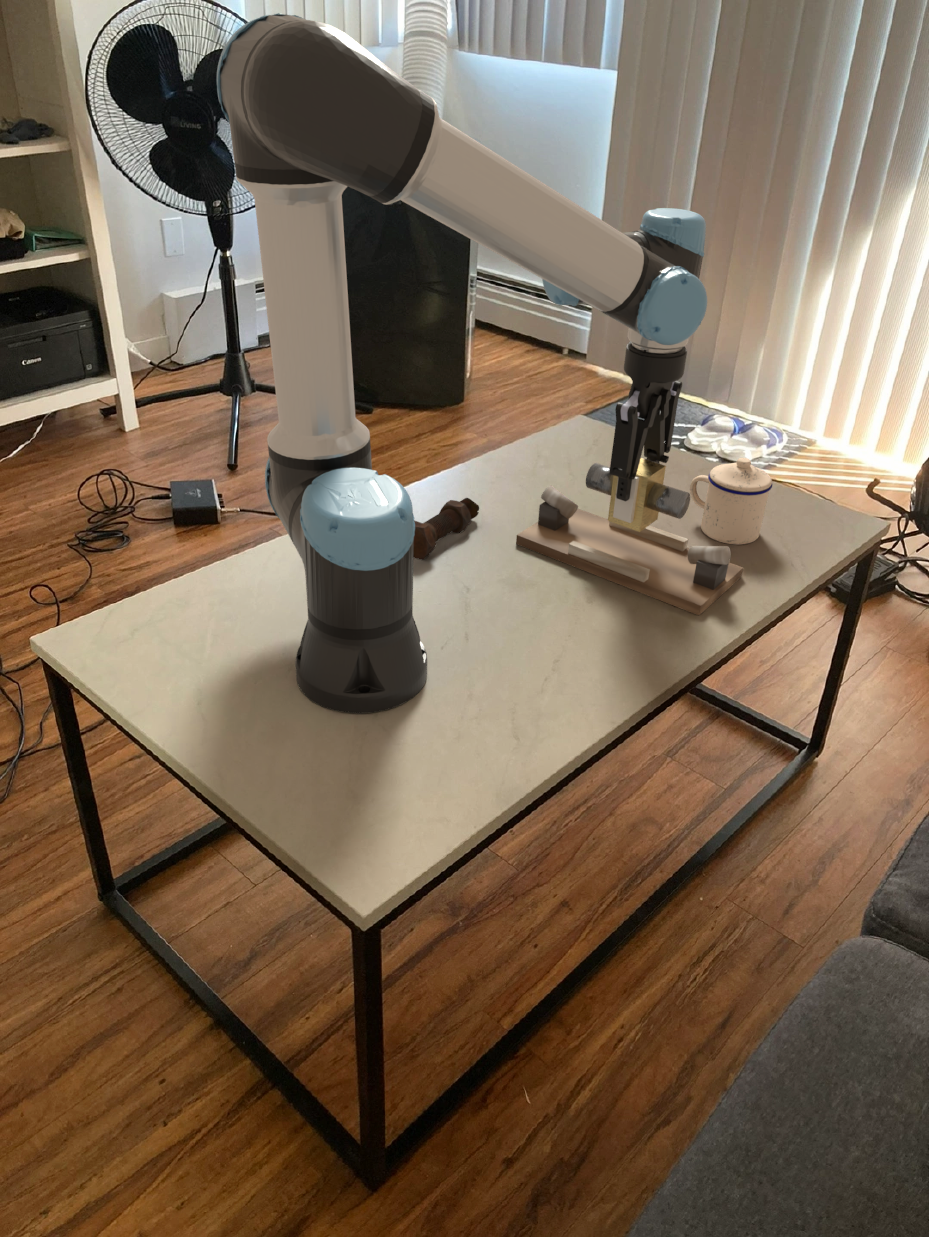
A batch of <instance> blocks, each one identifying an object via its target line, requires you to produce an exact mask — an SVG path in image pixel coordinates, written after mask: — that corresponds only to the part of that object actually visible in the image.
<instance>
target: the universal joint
mask: <svg viewBox="0 0 929 1237" xmlns="http://www.w3.org/2000/svg"><path fill="white" fill-rule="evenodd" d="M642 458H643V457H641V458H640V462H639V466H638V470H637V474H636V476H638V477H639V483H638V490H637V497H636V504H635V511H634V518H633V522H631V523H628V522H626V521H623V520H620V519H617V518H614V517H613V512H614V505H615V497H616V490H617V482H618V477H617V476H614V475H611V474H610V473H609V472H610V466H608V465H604V464H601V463H598V462H595V463H592V464H591V466H590V467H589V469H588V470H587V473H586V476H585V486H586V488H587V489H590V490H592V491H593V490H594V491H596V492H599V493H602V494H605V495H608V496H610V499H609V501H610V502H609V507H608V514H607V515H608V516H607V519H608V521H610V522H613V523H616V524H618V525H621V526H624V527H627V528H630V529H632V530H635V531H638V532H641V531H642V530H643V529H645V528H646V527H648V526H651V525H652V524H654V522H656V521H658V518H659V513H660V514H664V515H667V516H669V517H672V518H675V519H678V520H680V519H682V518H683V517H684V516H685V514H686V513H687V511H688V509H689V506H690V502H691V494H690V492H687V491H684V490H681V489H678V488H674V487H672V486H669V485H666V484H664V480H665V473H666V468H667V466H666V465H664V464H662V463H660V464H658V463H655V462H652V461H649V460H646V459H647V458H644V459H642Z"/></svg>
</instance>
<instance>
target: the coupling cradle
mask: <svg viewBox="0 0 929 1237" xmlns="http://www.w3.org/2000/svg"><path fill="white" fill-rule="evenodd" d="M540 499H541V500H543V501H544V502H542V503H540V504H539V508H538V509H539V510H538V518H537V520H538V521H537V522H535V523H533V524H531V526H529V527H527V528H525V529H524V530H522V531H521V532H519V533H517V534H516V540H515V541H516V542H515V544H516V545H517V546H519V547H522V548H525V549H528V550H530V551H533V552H536V553H538V554H541V555H542V556H546V557H549V558H551V559H552V560H553V559H554V560H556V561H559V562H562V563H564V564H566V565H569V566H571V567H574V568H576V569H579V570H581V571H584V572H586V573H589V574H590V575H591V574H592V575H595V576H597V577H600V578H601V579H605V580H607V581H610V582H612V583H614V584H617V585H620V586H621V587H624V588H627V589H630V590H632V591H635V592H637V593H640V594H642V595H645V596H648V597H651V598H653V599H656V600H658V601H661V602H663V603H666V604H668V605H671V606H674V607H676V608H679V609H681V610H683V611H686V612H689V613H691V614H693V615H697V616H701V615H702V613H704V612H706V610H708V608H709V607H710V606H712V604H714V603H715V602H716V601H717V600H718V599H719V598H720V597H721V596H722V595H723V594H725V593H726V591H728V590H729V589H730V588H731V587H732V586H733V585H734V584H735V583H736V582H738V581H739V580H740V579H741V578H742V575H743V571H744V567H743V566H739V565H737V564H734V563H732V562H730V560H731V557H732V555H731V554H732V553H731V549H730V547H729V546H727V545H719V546H718V545H692V546H690V547H688V542H689V538H686V537H684V536H681V535H678V534H675V533H671V532H669V531H667V530H663V529H660V528H658V527H654V526H652V525H649V526H648V527H646V528H645V529H643V530H642V531H641V532H638V531H635V530H632V529H630V528H627V527H624V526H621V525H618V524H616V523H613V522H610V521H608V518H606V517H602V516H599V515H597V514H594V513H591V512H588V511H585V510H583V509H580V508H579V505H578V504H577V503H575V502H574V501H573V500H571V499H570V498H569V497H567V496H566V495H565V494H564V493H562V492H561V491H560V490H558V489H557V488H556V487H554V486H553V485H552V484H549V485H548V486H546V488H545V489H544V490H543V492H542V493H541V496H540Z"/></svg>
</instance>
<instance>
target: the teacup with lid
mask: <svg viewBox="0 0 929 1237" xmlns="http://www.w3.org/2000/svg"><path fill="white" fill-rule="evenodd" d="M772 479H773V478H772V477H771V476H770V475H769V473H768V472H766V471H765V470H762V469H761V468H759V467H757V466H754V465H753V464H752V461H751V459H750V458H747V457H739V458H738V459H737V460H736V461H735V462H732V463H722V464H718V465H716V466H714V467H713V468H711V470H710V472H709V473H708V475H704V474H700V475H698V476H696V477H694V478H693V479H692V480H691V482H690V485H689V494H690V498H691V500H692V501H693V502H694V504H695V505H696V506H698V508H699V507H700V509H703V512H702V517H701V524H700V528H701V531H702V532H703V534H704V535H705V536H707V537H708V538H710V539H712V540H713V541H716V542H719V543H724V544H728V545H746V544H751V543H753V542H755V541H756V540H757V539H758V538H759V537H760V533H761V530H762V525H763V521H764V517H765V516H764V515H765V511H766V507H767V503H768V498H769V494H770V491H771V489H772V488H773V480H772ZM698 482H704V483H707V484H708V486H707V492H706V495H705V501H704V500H702V499H701V497H700V496H699V494H698V491H697V490H698V489H697V485H698Z"/></svg>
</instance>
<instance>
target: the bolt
mask: <svg viewBox="0 0 929 1237" xmlns="http://www.w3.org/2000/svg"><path fill="white" fill-rule="evenodd" d="M479 511H480V505H479V504H478V503H476V502H474V500H472V499H471V498H469V497H465V498H462V499H461V500H460V501H458V500H454V499H450V500H448V501H446V502H445V504H444V505H443V506H442V507H441V508H440V511H439V512H438V513H437V514H436V515H434V516H432V517H431V518H430V519H428V520H426V521H424V522H420V521H417V520H415V519H414V522H415V535H414V548H413V559H416V560H419V561H420V560H421V561H422V560H423V561H424V560H426V559H428V557H429V556H430V555H431V553H432V552H433V551H434V549H435V548H436V546H437V542H438V541H440V540H441V539H442V538H444V537H446V536H448V535H449V534H451V533H453V534H461V533H463V532H464V531H465V530H466V529H467V528H468V526H470V524H471V522H472V520H473V519H475V518H477V517H478V515H479V514H480V513H479Z"/></svg>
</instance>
